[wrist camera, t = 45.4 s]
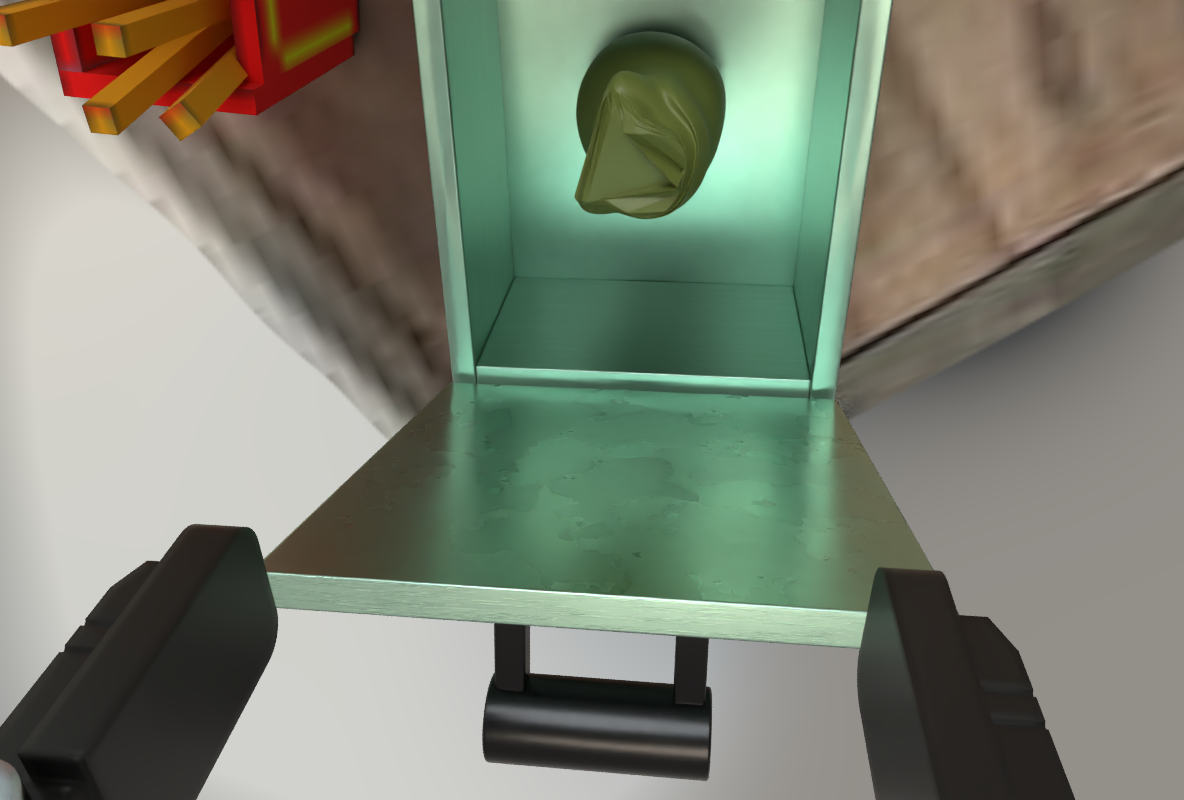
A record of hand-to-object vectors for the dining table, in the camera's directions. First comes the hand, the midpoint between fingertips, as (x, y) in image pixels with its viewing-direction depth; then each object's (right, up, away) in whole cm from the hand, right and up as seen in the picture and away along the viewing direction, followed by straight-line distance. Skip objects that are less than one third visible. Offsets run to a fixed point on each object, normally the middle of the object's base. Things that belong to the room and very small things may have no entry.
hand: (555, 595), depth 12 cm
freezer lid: (+1, +1, +13) cm, 13 cm away
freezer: (+3, +14, +25) cm, 29 cm away
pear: (+3, +14, +23) cm, 28 cm away
